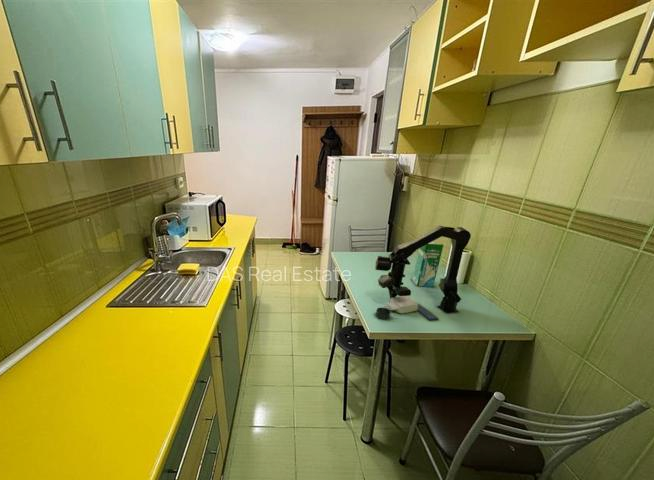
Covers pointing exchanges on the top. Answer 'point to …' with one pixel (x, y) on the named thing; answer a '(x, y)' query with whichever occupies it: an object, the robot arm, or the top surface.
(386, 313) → the black knob
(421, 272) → the milk carton
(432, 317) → the dark blue flat bar
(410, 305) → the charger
